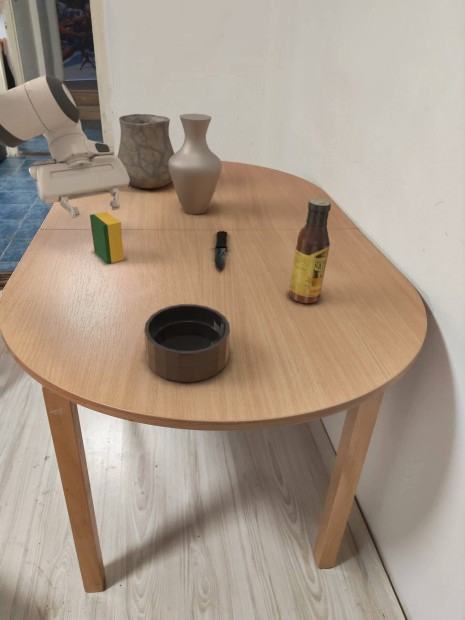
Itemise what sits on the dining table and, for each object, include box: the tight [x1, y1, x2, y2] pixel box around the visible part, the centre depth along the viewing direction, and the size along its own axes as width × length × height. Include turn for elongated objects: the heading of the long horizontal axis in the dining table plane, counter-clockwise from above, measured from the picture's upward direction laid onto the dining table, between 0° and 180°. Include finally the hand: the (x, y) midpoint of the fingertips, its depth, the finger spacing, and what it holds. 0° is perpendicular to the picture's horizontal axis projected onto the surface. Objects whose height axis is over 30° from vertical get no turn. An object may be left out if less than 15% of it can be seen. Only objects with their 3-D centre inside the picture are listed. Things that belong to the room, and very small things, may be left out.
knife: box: [214, 230, 228, 272], centre depth 106 cm, size 21×1×3 cm
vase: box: [168, 113, 223, 215], centre depth 122 cm, size 14×14×25 cm
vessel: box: [117, 113, 175, 189], centre depth 141 cm, size 22×22×20 cm
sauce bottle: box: [289, 197, 332, 304], centre depth 86 cm, size 6×6×20 cm
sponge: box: [89, 211, 125, 265], centre depth 100 cm, size 4×7×9 cm, turn 37°
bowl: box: [143, 303, 231, 383], centre depth 72 cm, size 13×13×6 cm
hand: (96, 212), depth 101 cm, fingers open, 8 cm apart
